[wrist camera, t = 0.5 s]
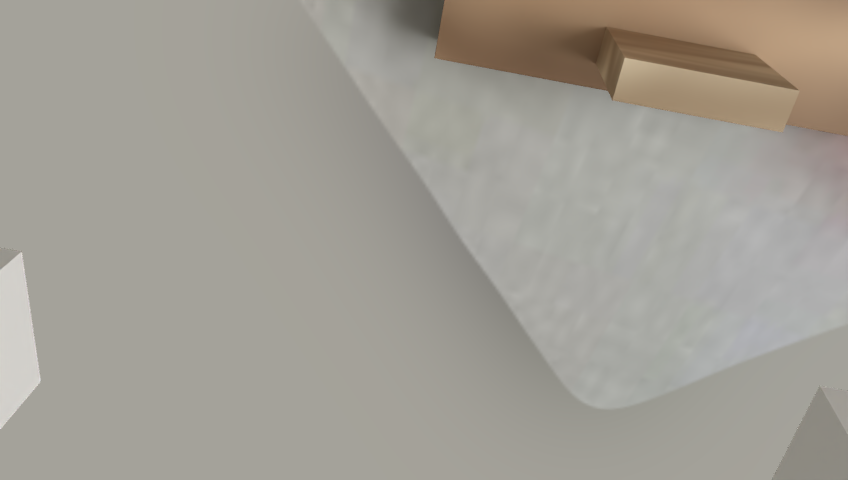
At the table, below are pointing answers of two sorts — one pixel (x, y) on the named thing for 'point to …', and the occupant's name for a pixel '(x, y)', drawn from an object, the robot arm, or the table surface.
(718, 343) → the table surface
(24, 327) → the robot arm
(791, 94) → the deck
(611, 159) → the table surface
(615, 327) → the table surface
